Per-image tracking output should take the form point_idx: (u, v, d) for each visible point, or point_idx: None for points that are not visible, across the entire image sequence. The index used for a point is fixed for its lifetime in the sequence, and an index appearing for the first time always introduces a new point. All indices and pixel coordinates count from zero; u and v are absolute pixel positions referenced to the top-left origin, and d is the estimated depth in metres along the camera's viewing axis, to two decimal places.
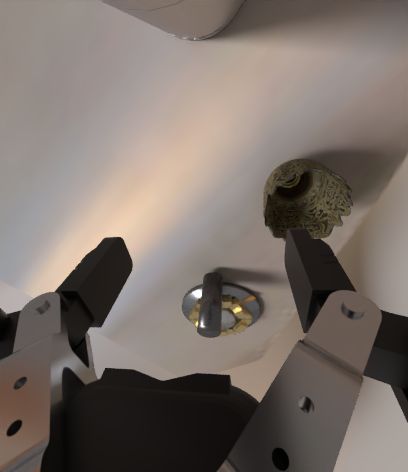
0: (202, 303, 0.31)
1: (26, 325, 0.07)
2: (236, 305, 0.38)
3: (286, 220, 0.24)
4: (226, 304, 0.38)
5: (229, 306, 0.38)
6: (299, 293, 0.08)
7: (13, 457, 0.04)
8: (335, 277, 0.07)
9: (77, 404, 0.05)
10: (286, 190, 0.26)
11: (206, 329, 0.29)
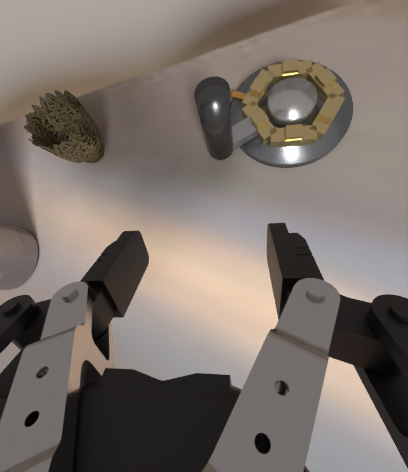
0: (211, 132, 0.23)
1: (58, 312, 0.07)
2: (245, 99, 0.28)
3: None
4: (250, 110, 0.27)
5: (252, 105, 0.27)
6: (275, 283, 0.09)
7: (27, 450, 0.04)
8: (306, 267, 0.08)
9: (77, 404, 0.05)
10: (101, 147, 0.33)
11: (208, 97, 0.20)
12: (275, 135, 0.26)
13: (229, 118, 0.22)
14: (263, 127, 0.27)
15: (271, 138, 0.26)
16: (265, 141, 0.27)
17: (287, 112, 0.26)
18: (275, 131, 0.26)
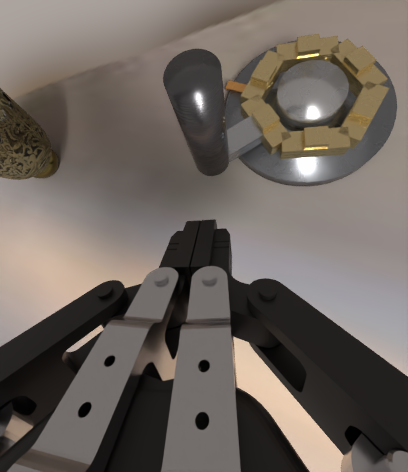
0: (194, 139, 0.15)
1: (158, 296, 0.07)
2: (246, 92, 0.20)
3: None
4: (253, 107, 0.20)
5: (256, 99, 0.20)
6: None
7: (68, 446, 0.04)
8: (220, 258, 0.09)
9: None
10: (55, 157, 0.25)
11: (185, 82, 0.12)
12: (289, 142, 0.18)
13: (222, 118, 0.14)
14: (271, 130, 0.19)
15: (283, 146, 0.18)
16: (274, 150, 0.19)
17: (306, 109, 0.18)
18: (289, 136, 0.18)
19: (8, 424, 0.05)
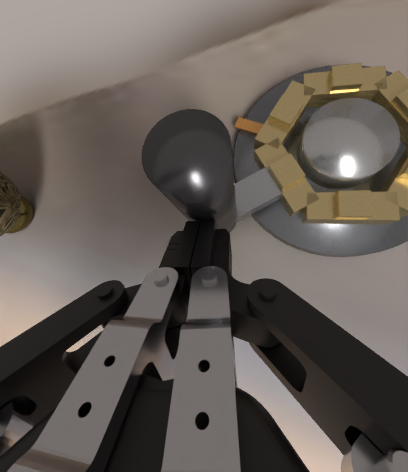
0: (190, 217, 0.11)
1: (158, 296, 0.07)
2: (262, 134, 0.16)
3: None
4: (270, 155, 0.15)
5: (274, 145, 0.15)
6: None
7: (68, 446, 0.04)
8: (219, 258, 0.09)
9: None
10: (28, 207, 0.20)
11: (175, 163, 0.08)
12: (316, 206, 0.14)
13: (230, 196, 0.10)
14: (293, 189, 0.15)
15: (308, 211, 0.14)
16: (296, 213, 0.15)
17: (342, 165, 0.14)
18: (316, 198, 0.14)
19: (8, 424, 0.05)
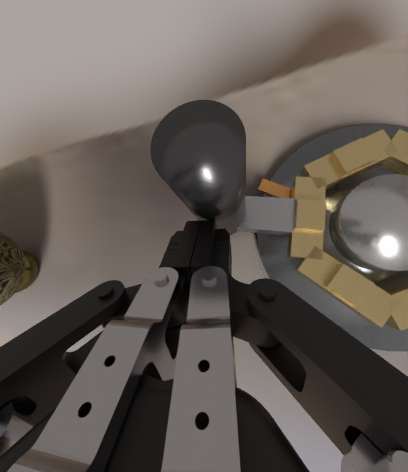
0: None
1: (158, 296, 0.07)
2: (314, 165, 0.14)
3: None
4: (307, 190, 0.14)
5: (317, 183, 0.14)
6: None
7: (68, 446, 0.04)
8: (219, 258, 0.09)
9: None
10: (33, 264, 0.19)
11: (180, 150, 0.07)
12: (314, 264, 0.13)
13: (226, 207, 0.10)
14: (305, 235, 0.14)
15: (303, 264, 0.13)
16: (293, 257, 0.14)
17: (387, 254, 0.12)
18: (319, 257, 0.13)
19: (8, 424, 0.05)
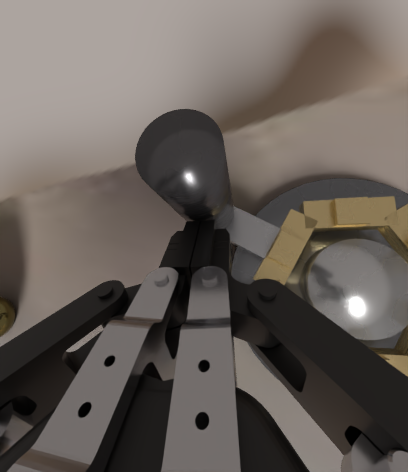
0: None
1: (158, 296, 0.07)
2: (312, 205, 0.14)
3: None
4: (295, 225, 0.14)
5: (307, 223, 0.14)
6: None
7: (68, 446, 0.04)
8: (219, 258, 0.09)
9: None
10: (10, 311, 0.19)
11: (162, 150, 0.08)
12: None
13: (197, 214, 0.10)
14: (274, 266, 0.14)
15: None
16: None
17: (352, 322, 0.12)
18: None
19: (8, 424, 0.05)
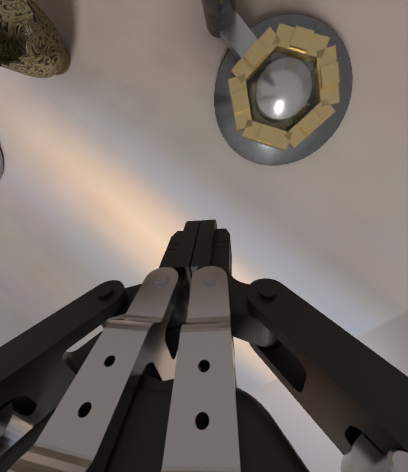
0: None
1: (158, 296, 0.07)
2: (283, 28, 0.22)
3: None
4: (267, 40, 0.22)
5: (274, 41, 0.22)
6: None
7: (68, 446, 0.04)
8: (219, 258, 0.09)
9: None
10: (66, 56, 0.27)
11: None
12: (236, 82, 0.24)
13: None
14: (245, 64, 0.23)
15: (232, 78, 0.24)
16: (232, 75, 0.24)
17: (270, 107, 0.24)
18: (241, 81, 0.24)
19: (8, 424, 0.05)
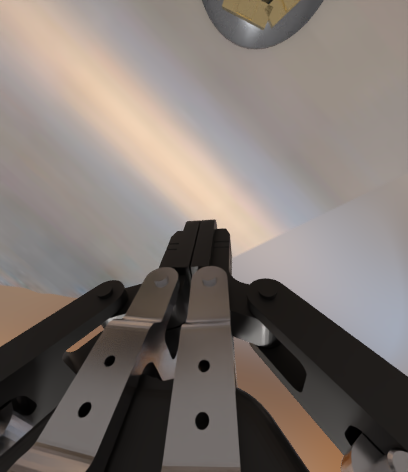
0: None
1: (158, 296, 0.07)
2: None
3: None
4: None
5: None
6: None
7: (68, 446, 0.04)
8: (219, 258, 0.09)
9: None
10: None
11: None
12: None
13: None
14: None
15: None
16: None
17: None
18: None
19: (8, 424, 0.05)
